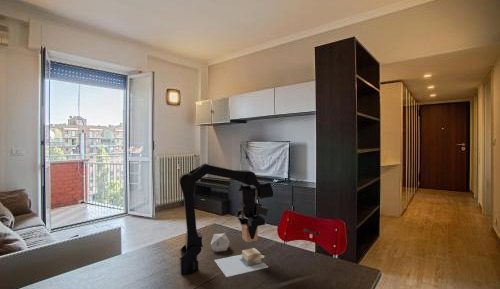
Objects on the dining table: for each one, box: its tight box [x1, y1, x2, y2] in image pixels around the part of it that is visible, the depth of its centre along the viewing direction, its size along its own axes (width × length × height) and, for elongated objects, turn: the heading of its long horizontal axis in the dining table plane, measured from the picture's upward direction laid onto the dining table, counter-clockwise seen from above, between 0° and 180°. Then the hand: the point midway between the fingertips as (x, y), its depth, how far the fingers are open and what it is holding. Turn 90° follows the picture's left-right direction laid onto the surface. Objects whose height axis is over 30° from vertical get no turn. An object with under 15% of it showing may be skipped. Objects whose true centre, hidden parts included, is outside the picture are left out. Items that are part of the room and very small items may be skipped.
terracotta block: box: [241, 223, 259, 243], centre depth 112 cm, size 5×5×6 cm
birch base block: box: [241, 247, 262, 265], centre depth 112 cm, size 6×6×4 cm
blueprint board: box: [214, 254, 269, 278], centre depth 110 cm, size 18×16×1 cm
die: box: [210, 232, 231, 253], centre depth 125 cm, size 8×9×10 cm
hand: (249, 236), depth 112 cm, fingers closed on terracotta block, 5 cm apart
